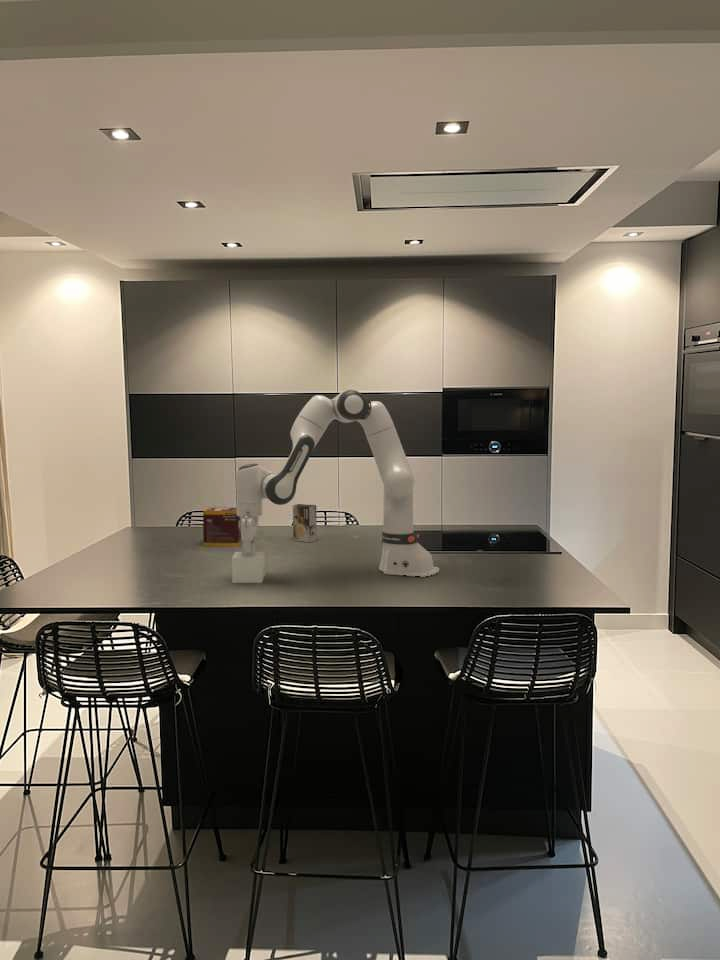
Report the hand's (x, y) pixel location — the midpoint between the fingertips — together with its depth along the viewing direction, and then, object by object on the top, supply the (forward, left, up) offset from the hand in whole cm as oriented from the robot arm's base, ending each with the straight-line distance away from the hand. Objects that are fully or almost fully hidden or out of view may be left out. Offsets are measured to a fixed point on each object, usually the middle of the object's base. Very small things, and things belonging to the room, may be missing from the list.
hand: (249, 549), depth 262 cm
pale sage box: (-1, +2, -10) cm, 11 cm away
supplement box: (+49, -44, -11) cm, 67 cm away
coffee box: (+23, -69, -11) cm, 73 cm away
